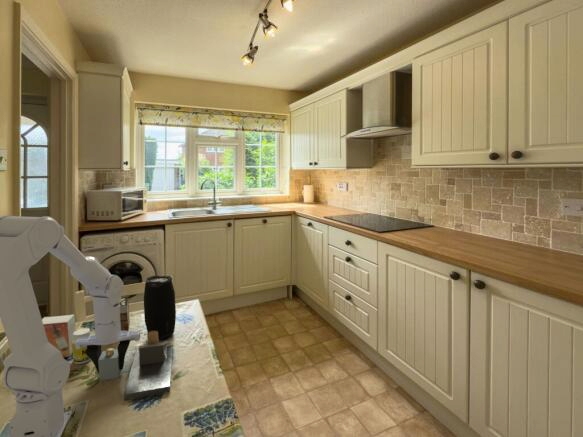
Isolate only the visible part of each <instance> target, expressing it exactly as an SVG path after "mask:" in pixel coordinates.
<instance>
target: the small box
mask: <svg viewBox="0 0 583 437" xmlns="http://www.w3.org/2000/svg"><path fill="white" fill-rule="evenodd" d="M75 316H76V315H75V314H67V315H66V314H65V315H57V316H44V317H43V318H42V322H43V325H44V329H45V332H46V336H47V339H48V342H49V343H50V344H52V345H53V346H54V347H56V348H57V349H58V350H60V351H61V353H62V357H63V358H65V357H67V358H68V357H70V356H71V355H73V350H72V340H73V333H74V332H75V331H77V329H76V317H75Z"/></svg>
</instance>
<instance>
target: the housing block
mask: <svg viewBox="0 0 583 437" xmlns="http://www.w3.org/2000/svg"><path fill="white" fill-rule="evenodd" d="M98 364H99V373H98V376H99V381H100V382H102V381H107V380H114V379H119V378H120V376H121V374H122V371H123V369H122V370H120V369H119V355H118V350H117V348H116V349H114V348H112V347H110V348H107V349H106V350H103V351H101V356H100V358H99V360H98Z"/></svg>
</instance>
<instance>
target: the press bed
mask: <svg viewBox="0 0 583 437" xmlns="http://www.w3.org/2000/svg"><path fill="white" fill-rule="evenodd" d="M173 356H174V344H173V345H172V344H170V345H168V344H167V343H164V362H159V363H153V364H146V365H140V359H139V349H136V351H135V354H134V358H133V362H132V365H131V368H130V372H129V376H128V378H127V383H126V386H125V389H124V392H123V401H129V400H133V399H140V398H145V397H151V396H155V395H160V394H168V393H171V385H172V371H173V358H174V357H173Z"/></svg>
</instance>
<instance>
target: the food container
mask: <svg viewBox="0 0 583 437" xmlns="http://www.w3.org/2000/svg"><path fill="white" fill-rule="evenodd" d="M119 308H120V323H121V331H130V322H131V321H130V301H129V294H124V295H123V294H122V295H121V301H120V302H119Z"/></svg>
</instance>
